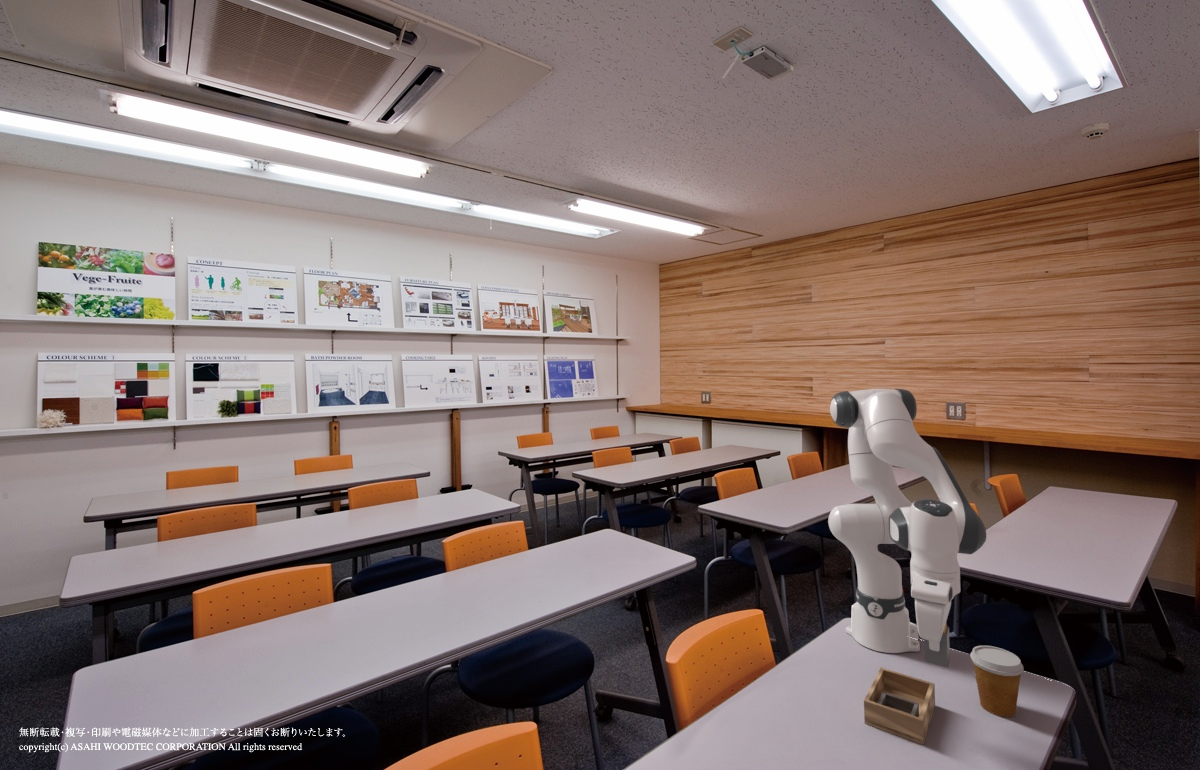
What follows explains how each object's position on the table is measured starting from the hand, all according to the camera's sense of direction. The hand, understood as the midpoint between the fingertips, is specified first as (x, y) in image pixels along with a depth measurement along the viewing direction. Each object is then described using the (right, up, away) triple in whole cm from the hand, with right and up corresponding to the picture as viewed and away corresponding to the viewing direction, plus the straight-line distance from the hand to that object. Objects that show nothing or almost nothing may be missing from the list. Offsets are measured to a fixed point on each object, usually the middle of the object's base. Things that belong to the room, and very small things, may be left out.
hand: (936, 643), depth 109 cm
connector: (0, -4, 0) cm, 4 cm away
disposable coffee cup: (+18, -18, +7) cm, 27 cm away
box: (-4, -19, +6) cm, 20 cm away
